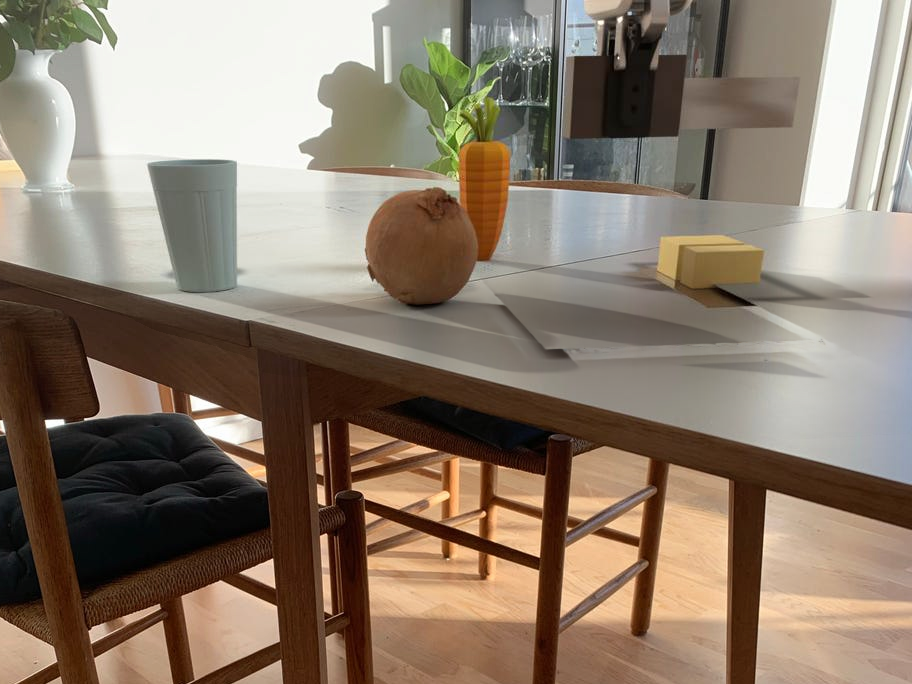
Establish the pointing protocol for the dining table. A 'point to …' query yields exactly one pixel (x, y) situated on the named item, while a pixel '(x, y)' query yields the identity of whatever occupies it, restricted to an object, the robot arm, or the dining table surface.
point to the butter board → (699, 292)
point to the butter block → (674, 251)
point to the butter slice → (720, 265)
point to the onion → (421, 246)
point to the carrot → (484, 179)
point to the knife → (678, 99)
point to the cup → (198, 220)
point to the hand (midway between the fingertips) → (620, 134)
